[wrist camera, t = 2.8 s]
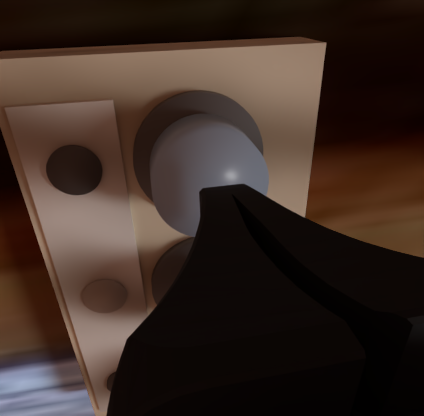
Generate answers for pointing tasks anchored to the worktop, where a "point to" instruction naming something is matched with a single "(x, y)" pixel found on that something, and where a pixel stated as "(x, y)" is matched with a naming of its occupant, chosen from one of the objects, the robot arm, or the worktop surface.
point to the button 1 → (201, 166)
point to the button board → (139, 164)
